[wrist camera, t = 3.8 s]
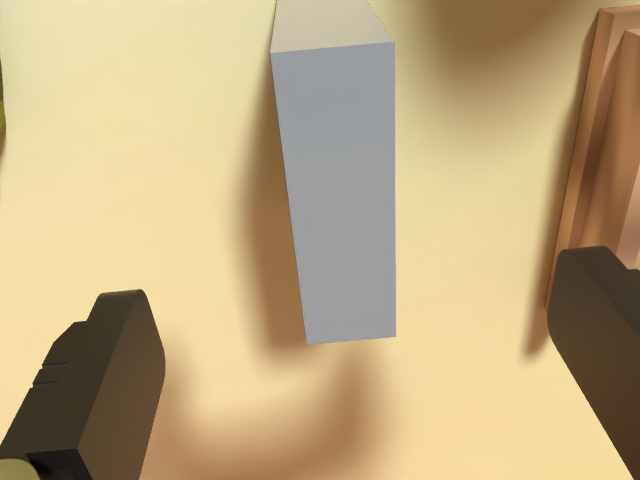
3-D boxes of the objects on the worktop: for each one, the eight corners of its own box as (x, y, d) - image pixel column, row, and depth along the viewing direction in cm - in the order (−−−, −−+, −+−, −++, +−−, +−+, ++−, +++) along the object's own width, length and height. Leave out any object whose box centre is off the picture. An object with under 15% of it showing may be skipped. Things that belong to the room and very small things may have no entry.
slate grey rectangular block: (278, -11, 18) (270, 53, 11) (355, -18, 18) (394, 41, 11) (302, 205, 22) (306, 344, 15) (364, 199, 22) (395, 336, 15)
